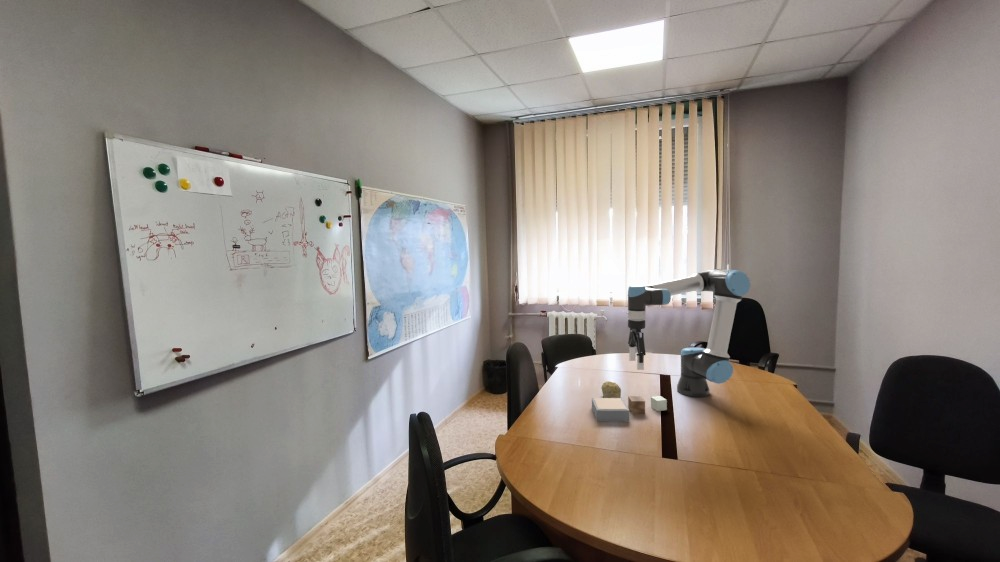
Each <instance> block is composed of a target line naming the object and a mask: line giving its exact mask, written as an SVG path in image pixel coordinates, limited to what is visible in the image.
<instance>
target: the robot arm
mask: <svg viewBox="0 0 1000 562" xmlns="http://www.w3.org/2000/svg"><path fill="white" fill-rule="evenodd" d="M750 289H751V280H750V277H749V276H748V275H747V274H746V273H745V272H744V271H742V270H737V269H721V268H714V269H708V270H703V271H700V272H696V273H695V272H694V273H692V274H691V275H690V276H686V277H680V278H677V279H670V280H666V281H665V280H664V281H661V282H655V283H652V284H646V285H641V284H639V285H637V284H635V285H633V284H632V285H629V286H628V290H627V312H626V314H627V318H628V320H627V328H628V329H629V335H628V340H627V341H628V342H627V344H628V348H629V350H628V351H629V352H628V353H629V356H628V357H629V358H628V359H629V361H631V362H633V361H635V362H636V366H637V367H636V370H637V371H638V370H639V371H644V370H645V367H644V366H645V356H646V347H645V346H646V345H645V339H644V336H645V334H644V332H642V330H643V329H646V320H645V319H646V308H647V307H649V306H651V307H652V306H666V305H669V304H670V302H671V299H672V296H677V295H680V294H681V295H682V294H686V293H691V292H696V293H701V292H711V293H713V297H714V298H715V305H714V311H713V316H712V319H711V326H710V330H709V335H708V341H707V345H706V348H704V347H693V346H692V347H685V348H682V349H681V352H680V377H679V379H678V382H677V385H676V391H677V392H678V393H680V394H681V395H683V396H688V397H693V398H694V397H695V398H705V397H708V396H709V395H710V386H709V384H708V382H707V381H709V382H710V383H715V384H719V385H720V384H724V383H727V381H729V380H730V379H731V377H732V376H733V374H734V367H733V365H732V363H731V362H730V359H731V356H730V355H729V353H728V349H729V344H730V339H731V333H732V329H733V324H734V321H735V320H734V319H735V314H736V310H737V306H738V303H739V302H741V301H742V300H743V297H744V296H745V295H747V293H749V292H750Z"/></svg>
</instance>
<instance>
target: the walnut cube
mask: <svg viewBox="0 0 1000 562" xmlns="http://www.w3.org/2000/svg"><path fill="white" fill-rule="evenodd" d="M627 403H628V404H627V405H628V406H627V407H628V409H629V413H630V414H631V415H633V414H634V415H635V414H636V415H638V414H639V415H643V414H645V415H646V401H645V399H644V398H643V396H640V395H630V396H629V395H628V399H627Z"/></svg>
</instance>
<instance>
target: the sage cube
mask: <svg viewBox="0 0 1000 562" xmlns="http://www.w3.org/2000/svg"><path fill="white" fill-rule="evenodd" d="M667 400H668V399H666V398H664V397H663V396H662V395H655V396H650V407H651V408H652V409H653V410H654V411H656V412H661V411H668V407H667V406H668V404H667V403H668V401H667Z"/></svg>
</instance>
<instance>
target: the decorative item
mask: <svg viewBox="0 0 1000 562" xmlns="http://www.w3.org/2000/svg"><path fill="white" fill-rule="evenodd" d="M600 388H601V392H602V396H603V398H622V397H621V396H622V395H621V394H622V388H621V386H620V385H619V384H618V383H616V382H612V381H604V383H602V385H601V387H600Z"/></svg>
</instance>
